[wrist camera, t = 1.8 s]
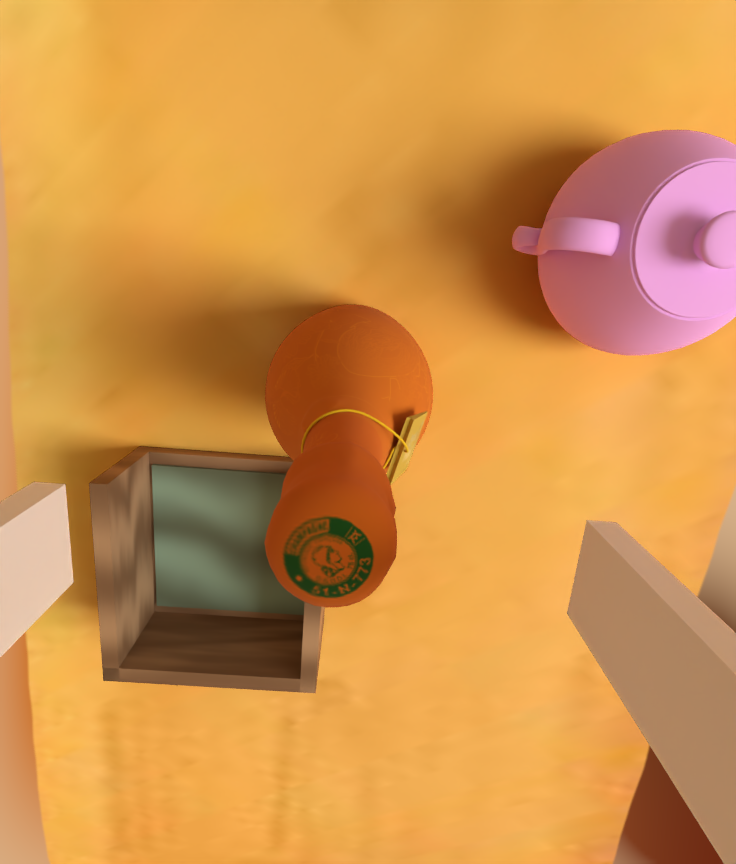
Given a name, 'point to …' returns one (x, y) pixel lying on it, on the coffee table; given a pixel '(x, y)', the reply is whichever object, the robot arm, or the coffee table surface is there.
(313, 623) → the wooden box
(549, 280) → the teapot
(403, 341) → the wine bottle
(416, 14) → the coffee table surface
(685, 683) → the robot arm
